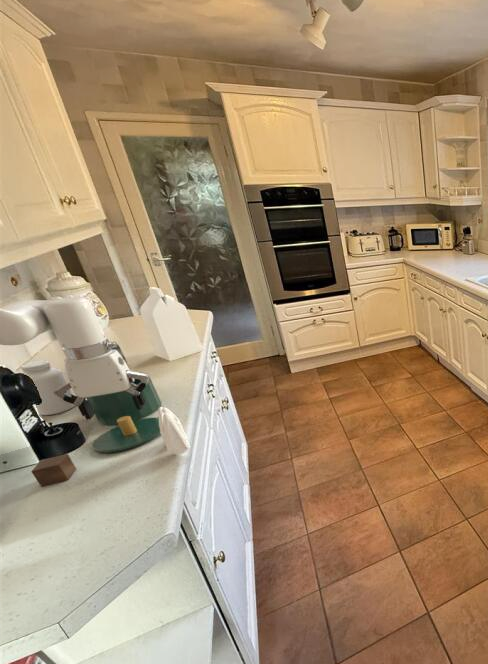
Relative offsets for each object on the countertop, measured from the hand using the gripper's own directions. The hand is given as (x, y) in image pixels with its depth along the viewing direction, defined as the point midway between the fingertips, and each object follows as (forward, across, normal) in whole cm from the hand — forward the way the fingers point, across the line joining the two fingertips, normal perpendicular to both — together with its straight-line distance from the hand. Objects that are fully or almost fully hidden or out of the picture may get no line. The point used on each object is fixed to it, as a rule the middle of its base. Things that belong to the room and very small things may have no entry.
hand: (116, 411), depth 100 cm
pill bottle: (+9, +23, -30) cm, 39 cm away
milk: (+8, 0, -64) cm, 65 cm away
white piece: (+8, -13, +12) cm, 19 cm away
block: (+8, +9, +12) cm, 17 cm away
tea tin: (+8, +3, -16) cm, 18 cm away
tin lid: (+7, -1, 0) cm, 7 cm away
